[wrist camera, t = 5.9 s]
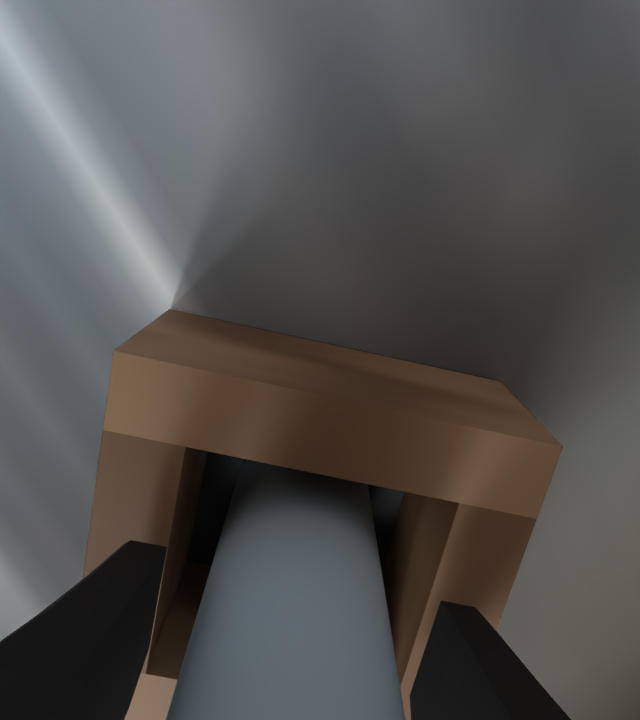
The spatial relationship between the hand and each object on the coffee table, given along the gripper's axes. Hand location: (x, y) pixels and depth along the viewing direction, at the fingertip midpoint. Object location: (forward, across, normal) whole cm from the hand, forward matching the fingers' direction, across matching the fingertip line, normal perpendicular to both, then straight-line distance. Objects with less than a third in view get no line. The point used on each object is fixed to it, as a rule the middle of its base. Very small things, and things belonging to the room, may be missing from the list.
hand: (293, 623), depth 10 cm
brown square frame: (+4, 0, 0) cm, 4 cm away
